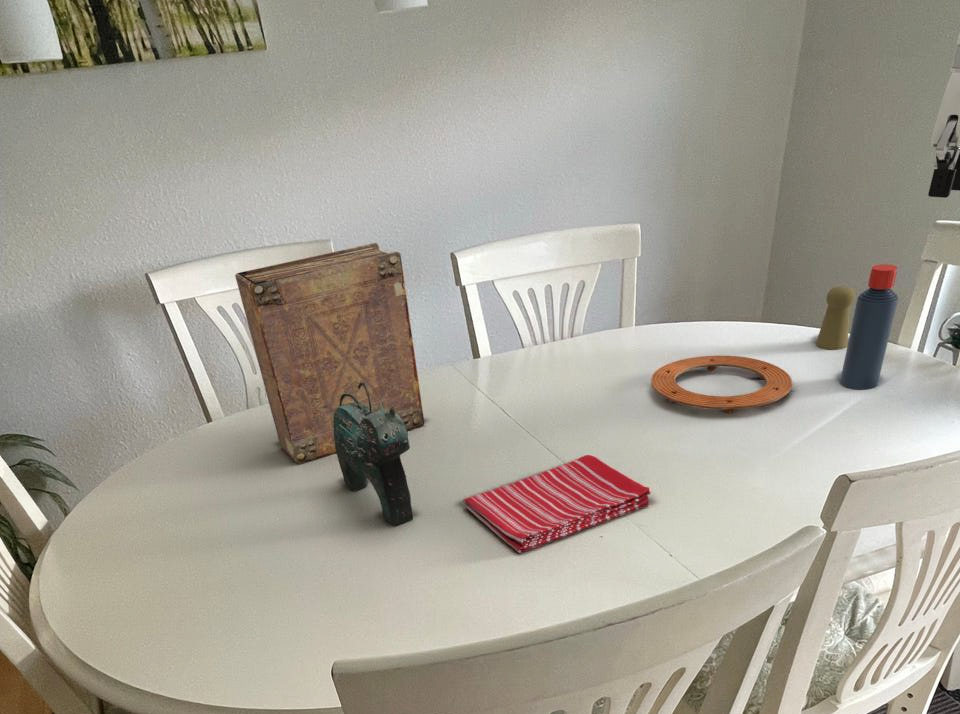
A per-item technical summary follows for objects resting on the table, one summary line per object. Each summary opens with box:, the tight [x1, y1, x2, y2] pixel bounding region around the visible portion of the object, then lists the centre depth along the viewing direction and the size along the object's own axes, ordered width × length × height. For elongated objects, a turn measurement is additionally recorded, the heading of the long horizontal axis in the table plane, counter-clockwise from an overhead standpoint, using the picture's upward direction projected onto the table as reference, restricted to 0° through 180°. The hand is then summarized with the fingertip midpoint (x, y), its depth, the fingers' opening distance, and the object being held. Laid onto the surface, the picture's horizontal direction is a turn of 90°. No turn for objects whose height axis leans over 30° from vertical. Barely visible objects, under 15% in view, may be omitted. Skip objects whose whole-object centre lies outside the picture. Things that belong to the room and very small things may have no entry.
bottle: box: [839, 287, 899, 390], centre depth 138 cm, size 6×6×19 cm
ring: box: [650, 355, 793, 414], centre depth 146 cm, size 25×25×2 cm
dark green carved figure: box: [333, 382, 414, 527], centre depth 117 cm, size 20×6×20 cm, turn 33°
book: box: [234, 242, 425, 465], centre depth 135 cm, size 25×9×30 cm, turn 120°
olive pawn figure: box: [815, 285, 856, 350], centre depth 156 cm, size 6×6×11 cm
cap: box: [867, 263, 898, 289], centre depth 132 cm, size 4×4×3 cm
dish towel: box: [462, 454, 651, 554], centre depth 117 cm, size 17×24×3 cm
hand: (946, 191), depth 130 cm, fingers open, 5 cm apart
